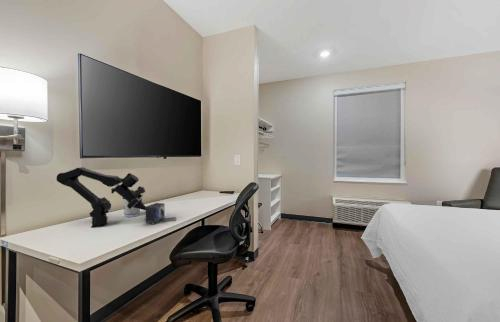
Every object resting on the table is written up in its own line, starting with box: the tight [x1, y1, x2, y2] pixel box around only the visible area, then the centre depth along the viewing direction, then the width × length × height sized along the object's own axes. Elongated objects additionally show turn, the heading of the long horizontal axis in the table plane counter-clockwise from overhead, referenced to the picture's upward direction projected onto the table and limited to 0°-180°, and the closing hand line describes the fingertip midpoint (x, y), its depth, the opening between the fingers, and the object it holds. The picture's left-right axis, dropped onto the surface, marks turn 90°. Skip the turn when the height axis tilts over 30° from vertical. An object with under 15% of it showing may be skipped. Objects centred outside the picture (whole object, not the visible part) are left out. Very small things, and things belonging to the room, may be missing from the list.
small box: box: [144, 202, 166, 225], centre depth 127 cm, size 11×6×10 cm, turn 168°
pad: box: [161, 216, 177, 223], centre depth 132 cm, size 8×8×1 cm
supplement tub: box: [123, 199, 141, 218], centre depth 140 cm, size 10×10×15 cm
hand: (146, 209), depth 125 cm, fingers closed
